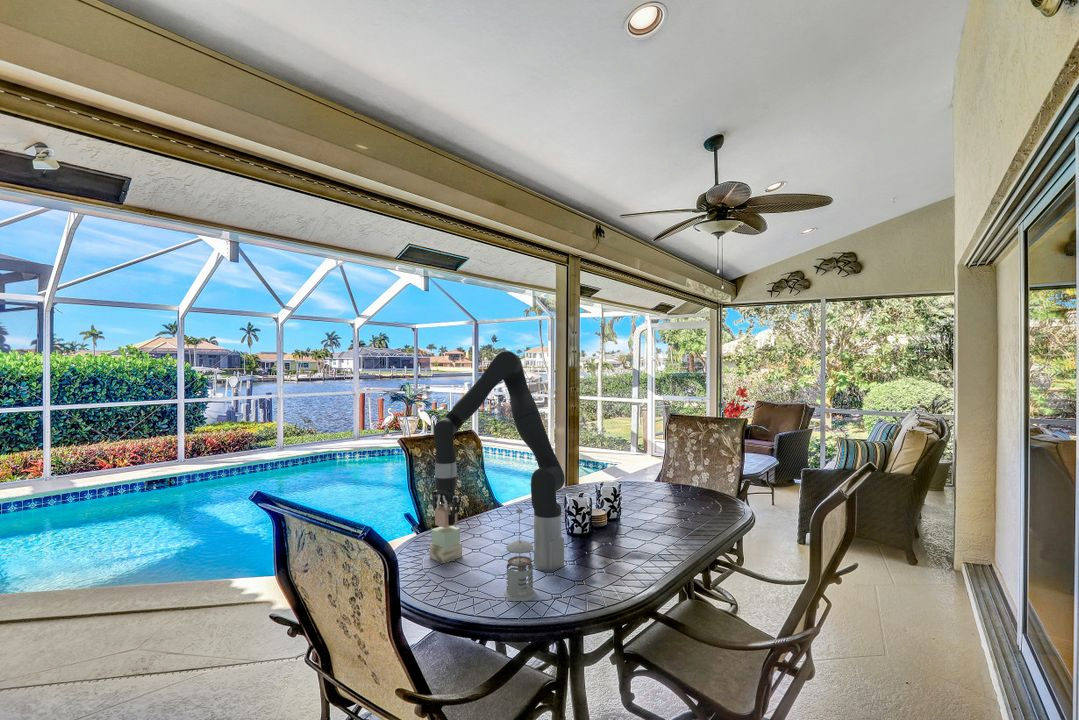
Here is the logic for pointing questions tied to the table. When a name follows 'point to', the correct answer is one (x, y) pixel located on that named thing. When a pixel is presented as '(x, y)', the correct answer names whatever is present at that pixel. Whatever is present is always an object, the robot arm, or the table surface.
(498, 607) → the table surface
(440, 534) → the sage top block
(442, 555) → the birch base block
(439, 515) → the terracotta block
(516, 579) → the french press
